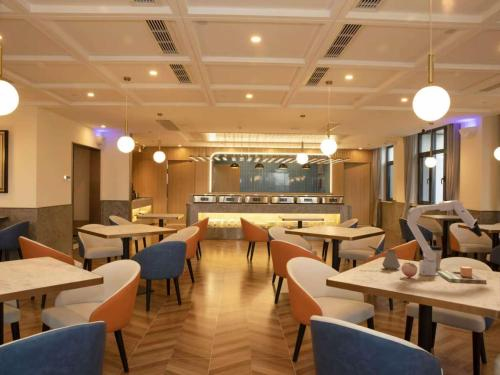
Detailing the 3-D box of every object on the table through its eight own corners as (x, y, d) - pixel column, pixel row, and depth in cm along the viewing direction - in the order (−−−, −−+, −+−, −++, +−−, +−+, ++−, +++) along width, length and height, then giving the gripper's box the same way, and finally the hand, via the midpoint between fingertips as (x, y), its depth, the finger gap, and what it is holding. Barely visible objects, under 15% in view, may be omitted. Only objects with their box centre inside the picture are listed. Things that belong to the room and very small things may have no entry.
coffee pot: (399, 268, 274) (400, 246, 274) (400, 271, 263) (400, 248, 264) (367, 265, 282) (368, 244, 282) (366, 268, 271) (367, 246, 271)
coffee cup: (444, 269, 271) (444, 247, 271) (429, 269, 273) (429, 247, 273) (440, 267, 280) (440, 245, 280) (426, 266, 282) (426, 245, 282)
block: (463, 276, 241) (463, 267, 241) (460, 274, 246) (460, 266, 246) (472, 276, 241) (472, 268, 241) (468, 274, 246) (469, 266, 246)
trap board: (449, 281, 234) (449, 278, 234) (437, 273, 257) (437, 270, 257) (486, 283, 231) (486, 280, 231) (471, 275, 254) (471, 272, 254)
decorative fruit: (420, 278, 242) (420, 262, 242) (411, 279, 238) (412, 263, 238) (407, 275, 250) (407, 259, 250) (398, 276, 246) (399, 260, 246)
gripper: (472, 216, 242) (487, 234, 240) (471, 210, 254) (485, 227, 252) (461, 222, 245) (476, 240, 243) (461, 216, 258) (475, 233, 256)
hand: (480, 234), depth 248 cm, fingers open, 7 cm apart
